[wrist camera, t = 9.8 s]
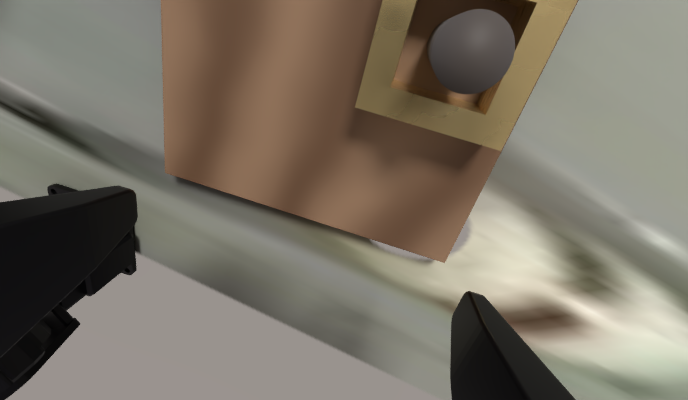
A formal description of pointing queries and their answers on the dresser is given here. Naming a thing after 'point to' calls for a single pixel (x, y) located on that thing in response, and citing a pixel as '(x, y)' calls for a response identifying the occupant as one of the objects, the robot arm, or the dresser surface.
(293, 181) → the keeper board
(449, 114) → the wooden square frame
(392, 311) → the dresser surface
